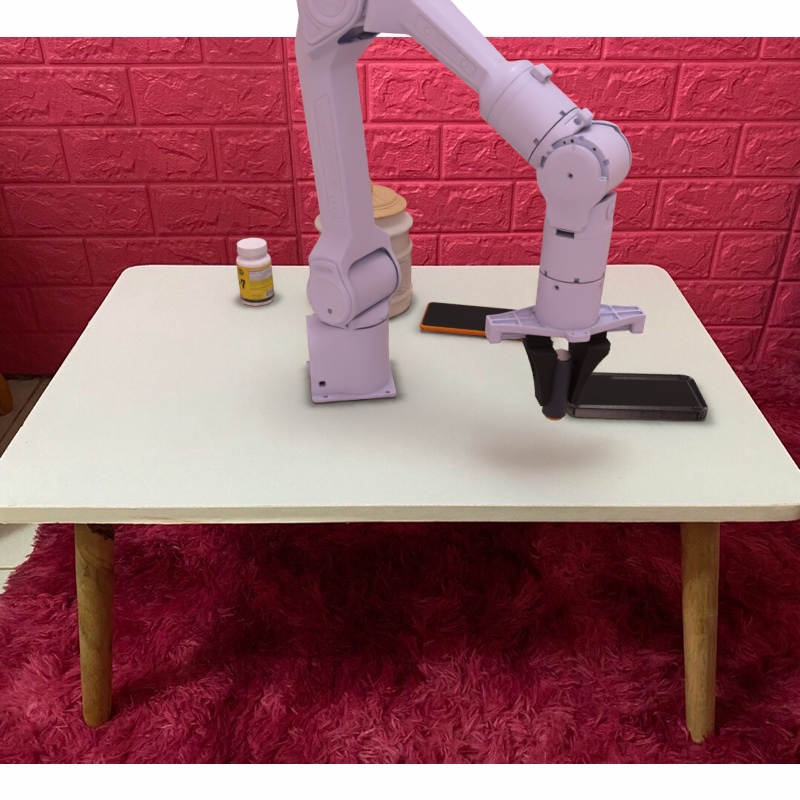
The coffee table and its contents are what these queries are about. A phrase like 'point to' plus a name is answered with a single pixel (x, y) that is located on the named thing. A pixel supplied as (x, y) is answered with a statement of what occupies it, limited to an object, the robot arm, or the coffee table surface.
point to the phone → (640, 397)
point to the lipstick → (559, 386)
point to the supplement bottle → (254, 272)
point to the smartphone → (458, 318)
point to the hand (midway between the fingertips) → (555, 399)
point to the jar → (392, 239)
